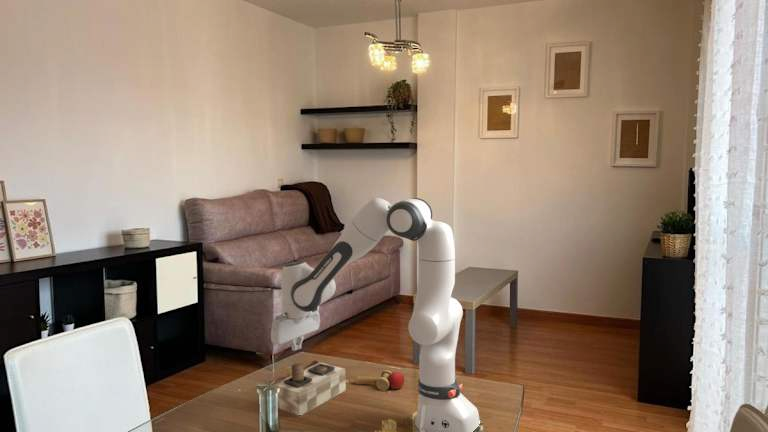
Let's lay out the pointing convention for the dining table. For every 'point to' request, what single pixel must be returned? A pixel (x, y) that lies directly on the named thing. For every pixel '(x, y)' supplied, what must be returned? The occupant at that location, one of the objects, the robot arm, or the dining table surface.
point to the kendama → (384, 380)
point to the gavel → (304, 369)
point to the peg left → (297, 372)
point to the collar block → (311, 388)
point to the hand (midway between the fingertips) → (296, 349)
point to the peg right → (321, 368)
